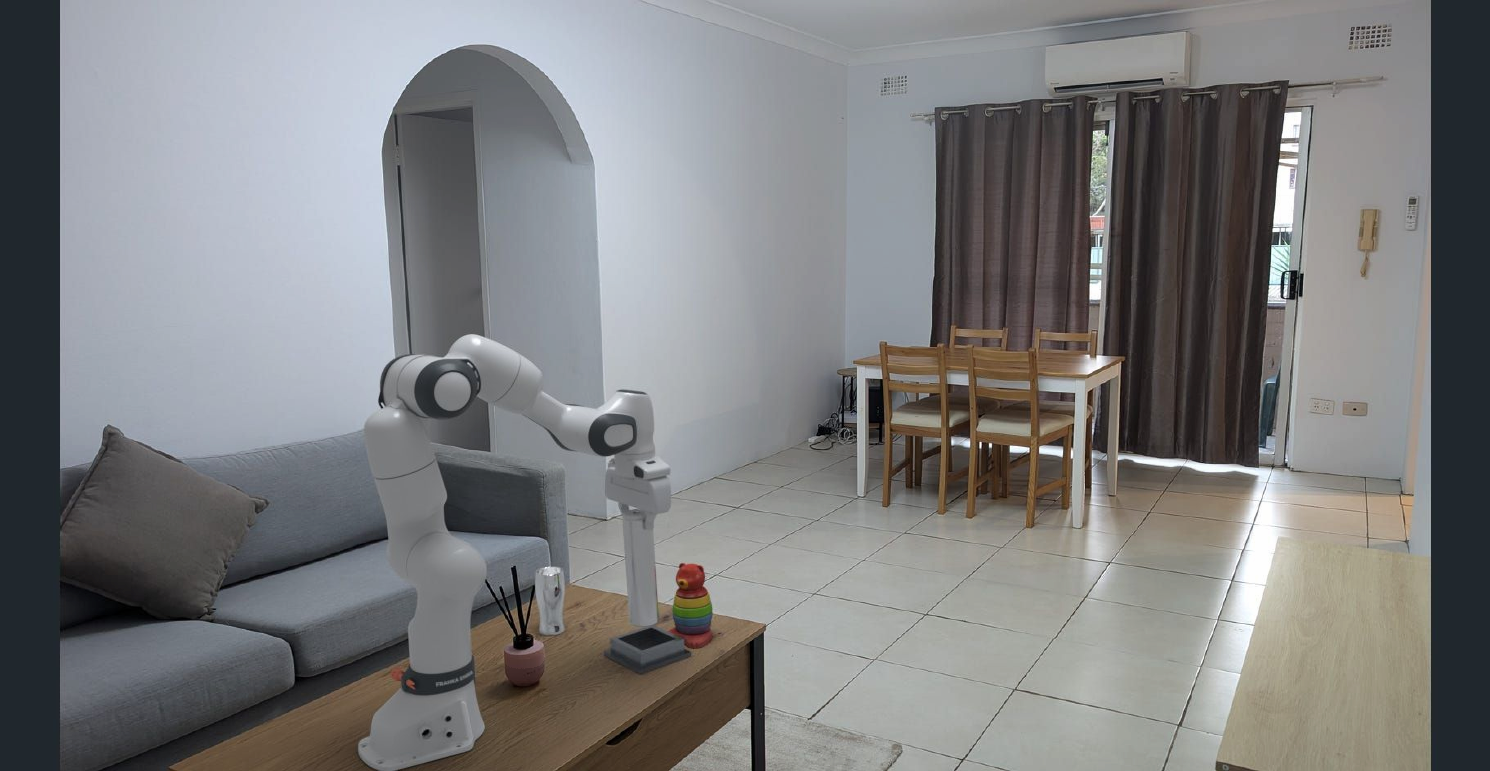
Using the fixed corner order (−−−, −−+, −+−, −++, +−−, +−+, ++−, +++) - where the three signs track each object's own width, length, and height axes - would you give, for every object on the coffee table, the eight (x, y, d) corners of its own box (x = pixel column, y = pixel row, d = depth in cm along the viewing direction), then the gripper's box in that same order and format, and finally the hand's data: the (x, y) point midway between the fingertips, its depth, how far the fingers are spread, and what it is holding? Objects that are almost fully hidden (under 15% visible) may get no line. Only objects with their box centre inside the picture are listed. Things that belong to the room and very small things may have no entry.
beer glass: (535, 627, 236) (533, 567, 234) (564, 624, 238) (562, 564, 236) (538, 638, 229) (535, 576, 227) (568, 634, 231) (565, 573, 229)
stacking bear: (660, 640, 227) (658, 566, 224) (687, 626, 235) (685, 555, 232) (697, 650, 220) (695, 574, 218) (723, 635, 229) (721, 562, 226)
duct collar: (640, 674, 208) (639, 656, 207) (603, 655, 218) (603, 638, 218) (691, 656, 217) (690, 639, 217) (654, 638, 227) (653, 622, 227)
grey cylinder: (654, 627, 210) (646, 516, 206) (625, 626, 212) (617, 515, 208) (662, 615, 217) (655, 507, 213) (634, 614, 218) (627, 507, 214)
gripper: (596, 459, 214) (599, 519, 216) (650, 473, 199) (653, 538, 201) (620, 454, 219) (623, 514, 220) (675, 468, 203) (677, 532, 205)
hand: (638, 525), depth 211 cm, fingers closed on grey cylinder, 6 cm apart
